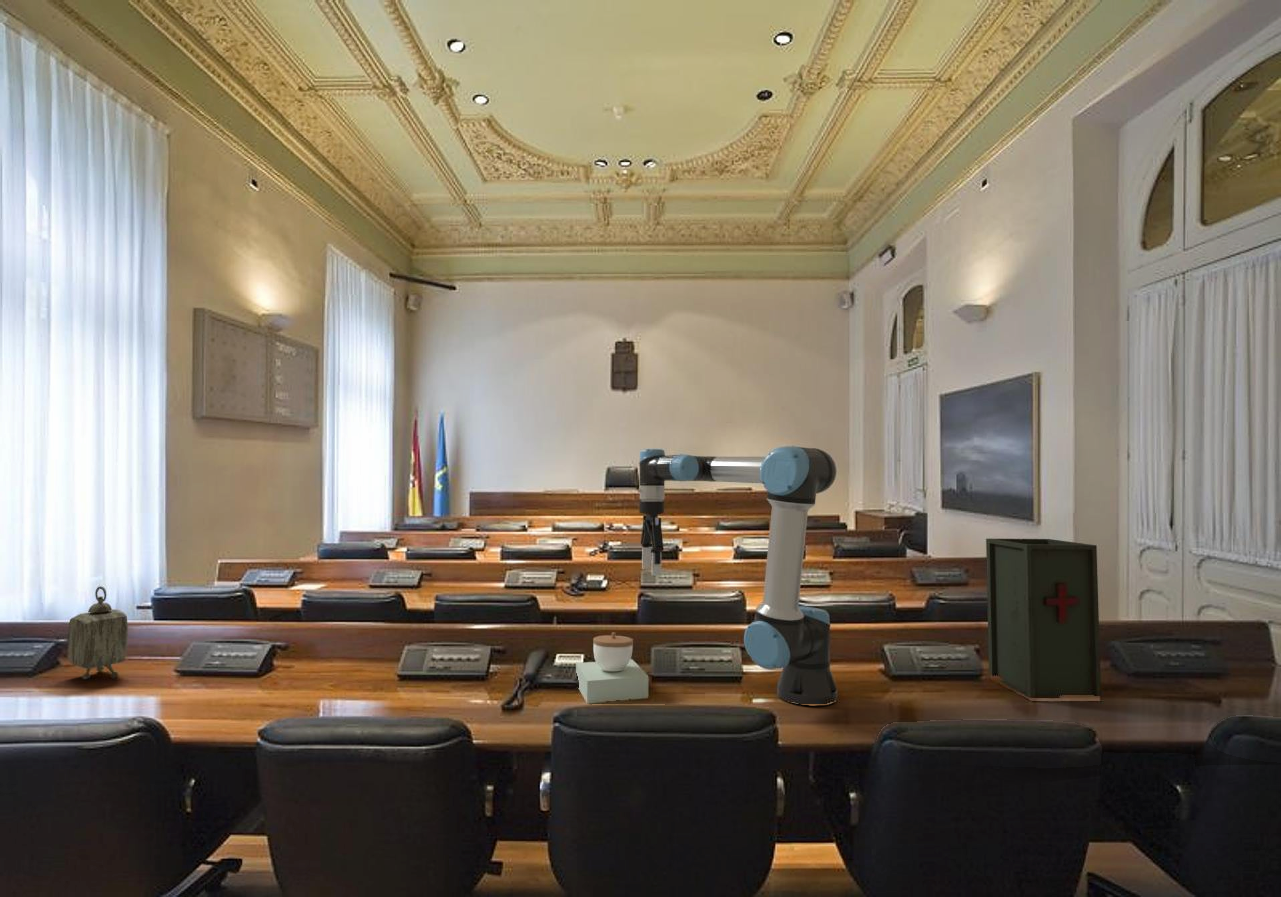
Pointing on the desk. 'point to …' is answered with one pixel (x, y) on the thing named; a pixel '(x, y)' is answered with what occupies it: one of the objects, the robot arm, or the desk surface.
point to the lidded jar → (612, 651)
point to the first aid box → (1043, 616)
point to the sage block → (611, 682)
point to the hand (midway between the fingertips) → (651, 572)
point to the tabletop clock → (98, 637)
